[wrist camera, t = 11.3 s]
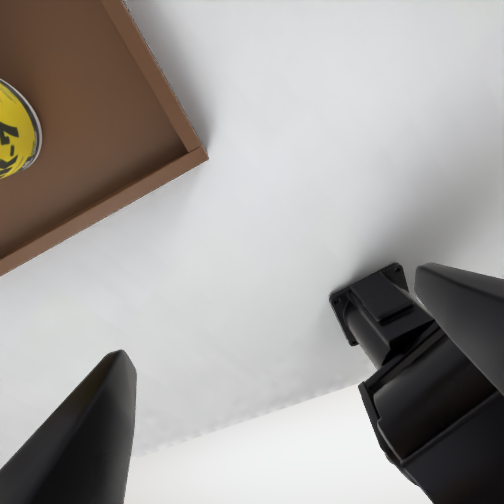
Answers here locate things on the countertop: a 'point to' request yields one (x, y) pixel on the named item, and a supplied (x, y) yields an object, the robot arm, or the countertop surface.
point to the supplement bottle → (17, 132)
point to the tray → (85, 121)
